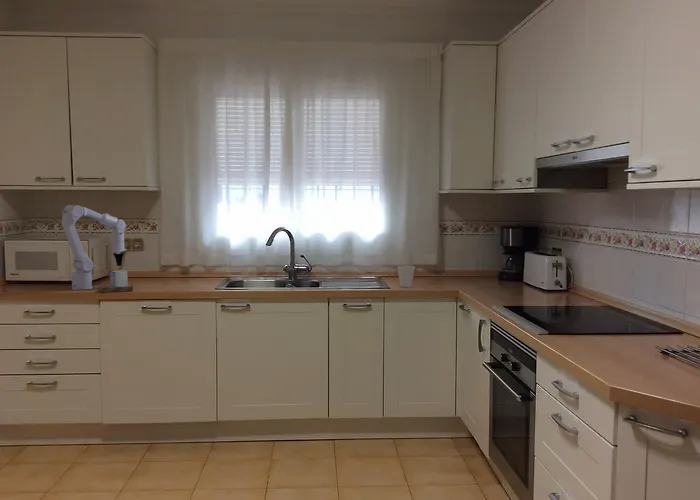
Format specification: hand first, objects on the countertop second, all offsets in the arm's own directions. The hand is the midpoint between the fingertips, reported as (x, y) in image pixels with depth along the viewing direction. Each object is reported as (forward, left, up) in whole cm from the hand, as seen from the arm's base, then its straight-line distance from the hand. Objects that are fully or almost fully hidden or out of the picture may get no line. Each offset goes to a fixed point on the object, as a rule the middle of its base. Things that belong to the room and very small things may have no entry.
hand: (119, 265), depth 329 cm
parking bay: (0, -21, -10) cm, 23 cm away
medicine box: (0, -9, -11) cm, 14 cm away
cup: (+148, -53, -11) cm, 158 cm away
